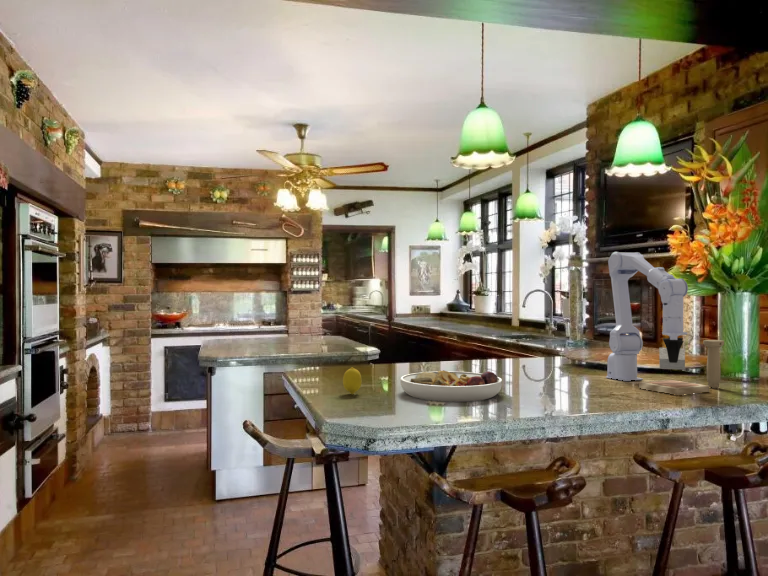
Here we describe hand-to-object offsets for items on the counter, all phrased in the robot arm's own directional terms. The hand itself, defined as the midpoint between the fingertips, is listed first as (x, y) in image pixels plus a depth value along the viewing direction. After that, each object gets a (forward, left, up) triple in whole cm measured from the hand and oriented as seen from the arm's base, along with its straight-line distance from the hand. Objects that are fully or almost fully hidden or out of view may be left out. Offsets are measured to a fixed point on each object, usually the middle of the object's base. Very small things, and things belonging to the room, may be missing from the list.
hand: (672, 361), depth 188 cm
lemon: (-37, -92, -9) cm, 99 cm away
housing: (0, 0, -2) cm, 2 cm away
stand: (0, 0, -9) cm, 9 cm away
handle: (+2, +16, -9) cm, 19 cm away
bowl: (-25, -65, -10) cm, 70 cm away
